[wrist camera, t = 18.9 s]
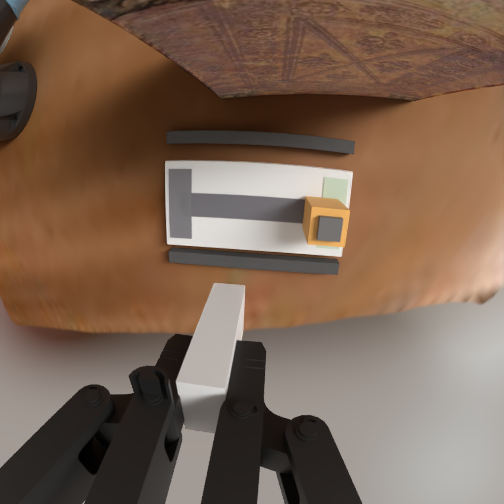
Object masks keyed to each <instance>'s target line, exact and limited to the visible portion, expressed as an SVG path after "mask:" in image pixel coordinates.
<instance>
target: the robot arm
mask: <svg viewBox="0 0 504 504" xmlns="http://www.w3.org/2000/svg"><path fill="white" fill-rule="evenodd" d="M28 1H29V0H0V47H1V45H2V44H3V42H4V40H5V38H6V37H7V35H8V33H9V32H10V30H11V28H12V27H13V25H14V23H15V22H16V20H18V19H19V17H20V14H21V12H22V11H23V9H24V7H25V6H26V4H27V3H28ZM36 91H37V79H36V73H35V70H34V68H33V67H32V65H31V64H29V63H27V62H22V61H13V62H9V63H6V64H2V65H0V141H5V140H10V139H13V138H14V137H16V136H17V135H18V134H19V133H20V132H21V131H22V130H23V128H24V127H25V125H26V123H27V121H28V119H29V117H30V115H31V112H32V109H33V106H34V102H35V98H36ZM244 299H245V285H233V284H221V283H214V285H213V287H212V290H211V292H210V295H209V297H208V300H207V302H206V305H205V307H204V310H203V312H202V315H201V317H200V320H199V322H198V325H197V328H196V330H195V333H194V335H193V336H188V335H181V334H175V335H174V336H173V337H171V338H170V339H169V340H168V341H167V343H166V345H165V347H164V349H163V351H162V353H161V355H160V358H159V359H158V361H157V364H156V365H155V366H143V367H140V368H137V369H136V370H134V371H132V373H131V374H130V375H129V379H130V382H131V385H132V388H133V391H134V393H132V394H121V395H120V394H116V395H115V394H114V395H112V394H110V393H109V391H108V390H107V389H106V388H105V387H104V386H101V385H88V386H85V387H83V388H82V389H80V390H79V391H78V392H77V393H76V394H75V395H74V396H73V397H72V398H71V399H70V400H69V401H68V402H66V403H65V405H64V406H62V408H60V409H59V410H58V411H57V412H56V413H55V414H54V415H53V416H52V417H51V418H50V419H49V420H48V421H47V422H46V423H45V424H44V425H43V426H42V427H41V428H40V429H39V430H38V431H37V432H36V433H35V434H34V435H33V436H32V437H31V438H30V439H29V440H28V441H27V442H26V443H25V444H24V445H23V446H22V447H21V448H20V449H19V450H18V451H17V452H16V453H15V454H14V455H13V456H12V457H11V458H10V459H9V460H8V461H7V462H6V463H5V464H4V465H3V466H2V467H1V468H0V504H82V503H83V502H84V501H85V503H84V504H165V501H166V498H167V494H168V490H169V486H170V483H171V479H172V475H173V472H174V468H175V465H176V460H177V457H178V454H179V450H180V446H181V443H182V433H181V429H182V427H183V423H184V425H185V429H190V430H196V431H203V432H209V433H215V436H214V441H213V447H212V451H211V456H210V461H209V466H208V471H207V477H206V481H205V486H204V491H203V496H202V501H201V504H257V496H258V484H259V472H260V466H261V467H264V468H267V469H270V470H273V471H276V474H277V478H278V481H279V485H280V488H281V492H282V496H283V499H284V503H285V504H362V502H361V500H360V497H359V495H358V493H357V491H356V488H355V486H354V484H353V482H352V479H351V477H350V475H349V473H348V470H347V468H346V466H345V464H344V461H343V459H342V457H341V455H340V452H339V450H338V448H337V446H336V443H335V441H334V439H333V437H332V434H331V432H330V430H329V428H328V426H327V425H326V423H325V422H324V421H323V420H321V419H320V418H318V417H315V416H311V415H301V416H298V417H295V418H293V419H292V420H290V419H287V418H283V417H280V416H278V415H276V414H274V413H272V412H271V411H270V410H269V409H268V408H267V407H266V405H265V403H264V383H265V363H266V350H265V348H264V346H263V344H262V343H261V342H253V341H252V342H251V341H242V334H243V322H244Z"/></svg>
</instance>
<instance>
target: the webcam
mask: <svg viewBox="0 0 504 504" xmlns="http://www.w3.org/2000/svg"><path fill="white" fill-rule="evenodd" d="M13 27H14V25H13ZM13 27H12V28H11V30H10V32H9V33H8V35H7V37H6V38H5V40H4V42H3V44H2V45H1V47H0V54H1V53H2V51H3V49H4V48H5V46H6V44H7V42H8V40H9V38H10V36H11V33H12V30H13Z"/></svg>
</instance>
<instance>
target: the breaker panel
mask: <svg viewBox="0 0 504 504" xmlns="http://www.w3.org/2000/svg"><path fill="white" fill-rule="evenodd" d="M352 177H353V172H351V171H349V170H341V169H333V168H324V167H314V166H304V165H293V164H281V163H266V162H248V161H223V160H168V161H165V199H166V229H167V244H172V245H186V246H201V247H215V248H229V249H243V250H257V251H271V252H285V253H299V254H312V255H326V256H340V257H341V256H342V250H343V247H333V246H320V245H308V244H307V241H306V238H305V235H304V232H303V229H302V226H303V216H304V206H305V196H311V197H322V198H332V199H338V200H339V201H340V202H341V203H343V204H344V205H345V206H346V207H347V208H348V209H349V202H350V194H351V186H352Z"/></svg>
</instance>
